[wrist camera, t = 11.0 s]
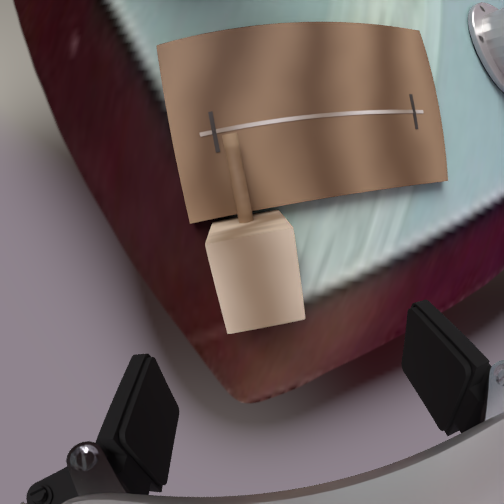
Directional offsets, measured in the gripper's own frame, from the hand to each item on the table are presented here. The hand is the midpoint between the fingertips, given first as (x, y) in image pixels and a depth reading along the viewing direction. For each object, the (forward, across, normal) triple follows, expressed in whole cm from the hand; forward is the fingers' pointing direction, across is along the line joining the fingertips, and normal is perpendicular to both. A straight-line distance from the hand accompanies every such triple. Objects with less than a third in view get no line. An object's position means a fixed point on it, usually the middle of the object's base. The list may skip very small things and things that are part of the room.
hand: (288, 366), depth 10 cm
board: (+14, -6, -10) cm, 19 cm away
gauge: (+14, +1, -2) cm, 14 cm away
